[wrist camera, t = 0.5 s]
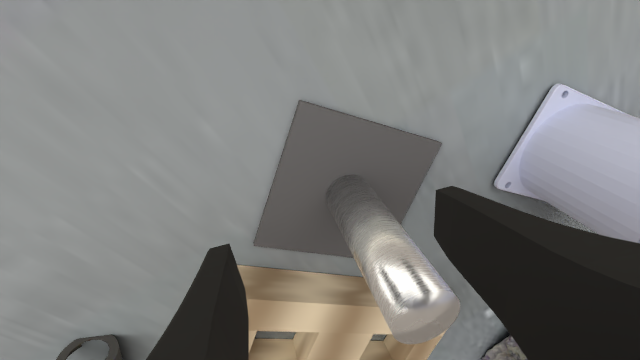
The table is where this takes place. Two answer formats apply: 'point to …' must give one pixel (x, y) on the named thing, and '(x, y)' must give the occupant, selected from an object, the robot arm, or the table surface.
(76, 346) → the caulking gun
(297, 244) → the mat
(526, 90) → the table surface
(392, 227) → the peg
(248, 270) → the hole block
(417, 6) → the table surface
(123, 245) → the table surface
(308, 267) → the table surface
